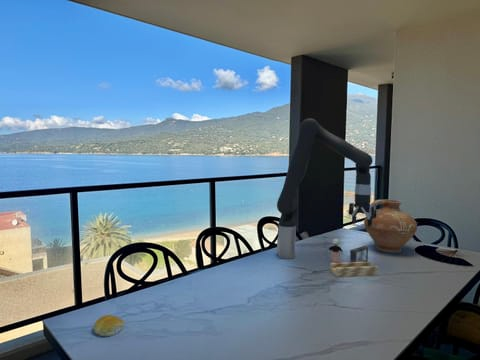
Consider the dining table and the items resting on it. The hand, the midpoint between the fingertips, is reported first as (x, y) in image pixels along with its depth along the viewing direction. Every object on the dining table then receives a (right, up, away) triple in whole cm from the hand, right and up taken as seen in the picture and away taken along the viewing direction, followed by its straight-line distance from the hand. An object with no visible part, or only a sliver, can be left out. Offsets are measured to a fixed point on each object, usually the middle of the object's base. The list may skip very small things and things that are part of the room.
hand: (361, 224), depth 162 cm
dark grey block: (-1, -20, +2) cm, 20 cm away
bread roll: (-103, -25, -61) cm, 122 cm away
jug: (+26, -19, +26) cm, 41 cm away
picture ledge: (-8, -21, -11) cm, 25 cm away
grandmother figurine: (-13, -20, +3) cm, 24 cm away
